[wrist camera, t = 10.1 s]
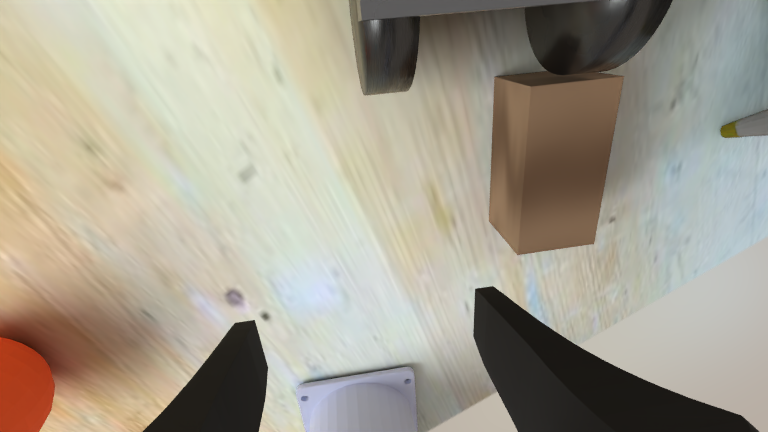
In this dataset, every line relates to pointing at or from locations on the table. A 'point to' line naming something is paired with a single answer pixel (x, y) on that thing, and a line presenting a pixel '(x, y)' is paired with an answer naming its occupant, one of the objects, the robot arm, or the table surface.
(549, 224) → the block
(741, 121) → the alarm clock
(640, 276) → the table surface
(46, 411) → the clementine
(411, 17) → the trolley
